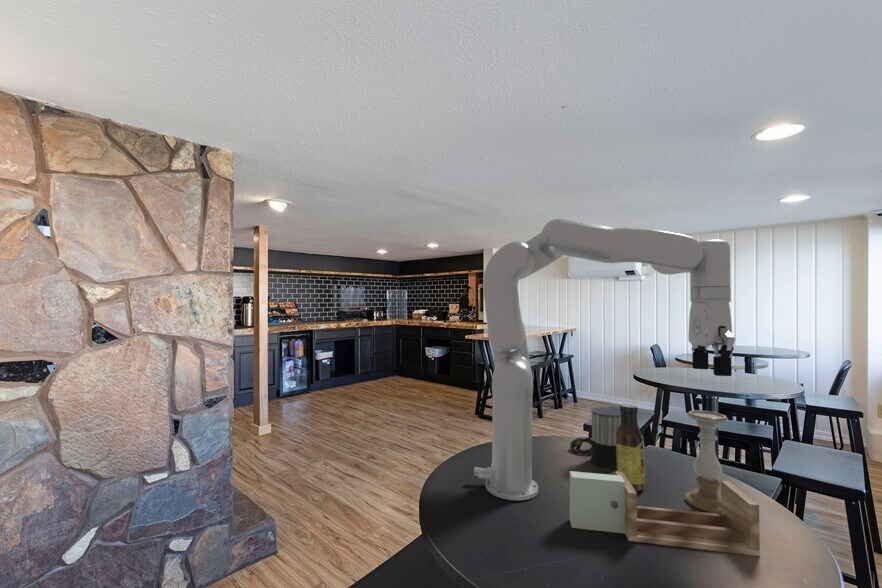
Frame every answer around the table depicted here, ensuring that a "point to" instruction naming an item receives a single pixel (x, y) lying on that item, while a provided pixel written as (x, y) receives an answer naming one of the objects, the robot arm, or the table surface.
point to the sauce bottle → (630, 447)
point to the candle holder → (707, 463)
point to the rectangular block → (597, 502)
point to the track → (696, 523)
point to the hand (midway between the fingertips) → (710, 372)
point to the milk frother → (601, 437)
